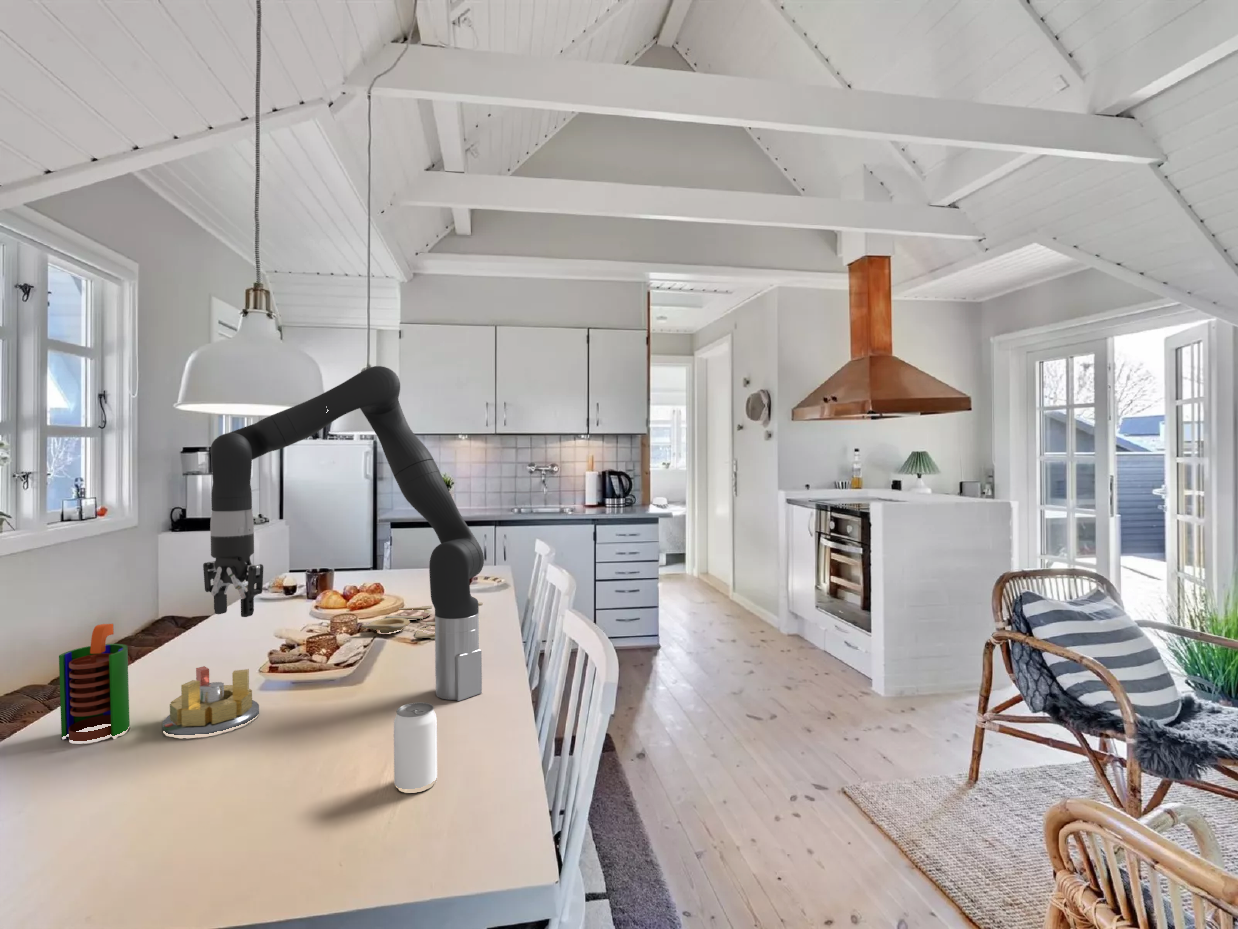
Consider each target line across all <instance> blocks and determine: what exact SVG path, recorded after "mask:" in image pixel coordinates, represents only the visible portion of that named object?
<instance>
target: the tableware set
mask: <svg viewBox="0 0 1238 929" xmlns="http://www.w3.org/2000/svg"><path fill="white" fill-rule="evenodd" d="M478 604H479V607H480V606H483V605H484V602H478ZM398 608H399V610H412V609H413V610H424V612H425V613H432V611H431V609H433V605H425V606H424V605H422V606H417V607H416V606H413V607H398ZM408 619H420V621H422V620H423V616H387V615H386V616H385V617H384V618H381V619H376V620H373V621H370V622H369V623H368V624H367V623H365V624H362V625H361V628H362V627H364V628H363V629H370V630H372V629H373V631H375V630H376V629H378V630H380V632H381V633H389V632H394V631H397V630H401V629H402V628H403V629H404V628H405V627H407V626H408V625H410V622H411V621H409V620H408ZM421 619H422V620H421ZM425 624H426V626H425V627H426V628H425V627H422V628H420V629H418V630H423V631H424V630H427V629H429V628H431V627H429V626H435V621H432V622H431V621H428V622H426V623H425ZM403 629H402V630H403ZM418 630H416V631H417V632H416V631H415V634H414V639H422V638H431V639H430V640H435V633H434V634H427V633H423V631H418ZM416 633H420V634H416Z"/></svg>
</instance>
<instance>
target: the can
mask: <svg viewBox="0 0 1238 929" xmlns="http://www.w3.org/2000/svg"><path fill="white" fill-rule="evenodd" d="M434 709H435V708H434V705H433V704H431V703H429V702H425V701H424V702H422V701H421V702H420V701H419V702H411V703H407V704H406V703H405V704H404V705H401V706H400V707H398V708H397V710H396V716H395V718H394V719H393V720H394V721H393V768H394V769H393V772H394V776H393V778H394V779H393V780H394V786H395V785H396V786H397V787H398V788H402V789H415V788H421V787H423V786H426V785H428V784H431V783H432V782H433V781H435V780H436V778H437V779H438V728H437V727H438V725H437V723H438V722H437V720H438V719H437V714H436V712H435V710H434Z"/></svg>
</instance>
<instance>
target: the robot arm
mask: <svg viewBox="0 0 1238 929" xmlns="http://www.w3.org/2000/svg"><path fill="white" fill-rule="evenodd" d="M400 393H401V382H400V378H399V376H398V375H397V373H396V372H395V371H393V370H392V369H390V368H388V367H387V366H382V365H376V366H370V367H368V368H366V369H364V370H361V371H360V372H358V373H357V374H355V375H353V376H352V377H350V378H349V379H347V380H346V381H344V382H342V383H341V384H338V385H336V386H335V387H333V388H331V389H329V390H327V391H325V392H323V393H320V394H319V395H317V396H315V397H312V398H311V399H308V400H306V401H304V402H301V403H300V404H299V403H298V404H296V405H294V406H291V407H289V408H286V409H284V410H281V411H279V412H277V413H274V414H272V415H269V416H266V417H264V418H262V419H260V420H259V421H257V422H256V423H253V424H250V425H247V426H243V427H241V428H238V429H236V430H232V431H230V432H227V433H223V434H221V435H219V436H217V437H216V438H215V439H214V440H213V441H212V443H211V446H210V452H209V453H210V455H211V456H210V457H211V459H210V460H211V470H212V472H211V473H212V487H211V493H210V494H211V497H210V499H211V500H210V501H211V515H210V523H209V524H210V525H209V526H210V528H209V530H210V556H211V558H213V559H215V560H213V561H208V562H204V563H203V565H202V567H203V569H202V571H203V578H204V579H203V580H204V581H203V582H204V591H205V592H206V593H210V594H211V595H212V596H213V610H214V614H215V615H222V614H226V613H227V612H228V595H227V591H228V589H229V586H230V585H231V584H232V585H233V586H234V588H235V590H238V593H239V594H240V616H241V617H242V618H248V617H251V616H252V617H253V614H254V610H255V606H254V605H255V600H254V599H255V596H257V595H261V594H263V588H264V587H263V586H264V565H263V564H262V563H260V564H252V562H251V556H252V555H253V554H254V553H255V538H254V537H255V535H254V534H255V528H254V527H255V525H254V524H255V523H254V515H253V499H252V498H253V497H252V496H253V493H252V485H251V479H252V468H253V467H252V466H253V465H252V464H253V460H255V459H258V458H260V457H261V456H264V455H266V454H267V453H270V452H275V451H278V450H281V449H284V448H286V447H289V446H291V445H294V444H297V443H298V442H301V441H303V440H305V439H307V438H309V437H311V436H313V435H314V434H316V433H318V432H319V431H322V429H324V428H326V427H327V426H328V425H330V424H331V423H333V422H334V421H336V420H337V419H339V418H341V417H343V416H345V415H348V414H349V413H352V412H353V411H356V410H359V409H360V411H361V412H362V414H363V415H364V417H365V419H366V420H367V421H368V423H369V425H370V427H371V428H372V430H373V432H374V433H375V434H376V436H377V439H378V440H379V442H380V445H381V448H382V450H383V453H384V456H385V458H386V459H385V460H386V461H387V463H388V466H389V468H390V470H391V472H392V475H393V477H394V479H395V481H396V483H397V486H398V487H399V490H400V492H401V493H402V496H403V497H404V498H405V500H406V501H407V502H408V503H409V504H410V505H411V506H412V507H413V509H414V510H416V512H417V513H418V514H419V515H421V516H422V517H423V518H424V519H425V520H426V521H427V522H428V524H429V525H430V526H431V528H432V529H433V531H434V532H435V534H436V536H437V538H438V540H439V542H440V544H438V545H437V546H436V547H434V549H433V550H432V551H431V552H432V553H431V554H430V557H429V565H428V572H429V575H428V576H429V589H430V590H429V591H430V600H431V602H432V603H431V604H432V607H433V608H434V622H435V639H434V648H435V649H434V653H435V655H434V656H435V658H434V659H435V660H434V661H435V662H434V663H435V669H434V670H435V671H434V672H435V695H436V697H437V698H439V699H442V700H451V701H457V702H459V701H464V700H466V699H468V698H471V697H474V696H477V695H480V694H482V690H483V686H482V685H483V682H482V681H483V680H482V679H483V678H482V677H483V676H482V675H483V672H482V667H483V666H482V665H483V664H482V659H483V658H482V656H483V655H482V650H481V649H480V643H479V642H480V635H479V634H480V630H479V629H480V628H479V625H480V624H479V623H480V622H479V619H480V616H479V614H480V613H479V611H480V608H479V607H480V606H479V604H478V603H479V601H478V599H477V598H476V597H473V596H472V594H471V588H470V584H471V583H470V579H472V578H475V577H476V576H478V575H479V574H480V573H481V572H482V570H483V568H484V564H485V563H484V562H485V557H484V556H485V555H484V552H483V550H482V547H481V545H480V544H479V543H480V542H478V540H477V538H476V536H475V535H474V534H473V532H472V531H471V529H470V527H469V526H468V524H467V523H466V521H465V519H464V518H463V515H462V514H461V513H460V511H459V508H458V507H457V504H456V503H455V500H454V497H453V496H452V494H451V493H450V491H449V488H448V486H447V484H446V482H445V480H444V479H443V475H442V474H441V471H440V469H439V468H438V465H437V464H436V461H435V458H433V456H432V453H431V452H430V451H429V449H428V448H427V446H426V445H425V444H424V443H423V442H422V441H421V439H419V438H418V437H417V436H416V434H415V432H413V430H412V429H411V428H410V425H409V424H408V421H407V419H406V416H405V414H404V413H403V409H402V407H401V405H400V399H399V396H400ZM326 406H327V408H326ZM327 409H328V410H329V411H328V412H327ZM326 412H327V413H326ZM211 580H212V581H213V582H212V583H211ZM255 585H256V586H255ZM246 589H247V590H246Z"/></svg>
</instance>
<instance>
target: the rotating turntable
mask: <svg viewBox="0 0 1238 929" xmlns="http://www.w3.org/2000/svg"><path fill="white" fill-rule="evenodd" d="M224 685H225V684H224V682H222V681H214V682H209V683H208V684H204V685H202V686H200V704H209V703H214V702H218V701H221V700H224ZM258 714H259V715H260V705H259V703H258V702H257V701H256V700H253V699H252V707H251V708H250V709H249V710H248V711H246V712H245V713H244V714H243V715H237V718H233V719H230V720H226V721H223V722H219V723H216V724H211V723H210V722H209V723H208V724H207V725H205V726H182V724H181V725H178V726H177V725H176V724H175V723H173V722H172V721H171V720H170V714H169V715H167V716H166V717H165V718H164V719H163V721H162V732H163V731H165V732H166V733H168V734H174V735H195V734H209V733H214V732H217V731H223V730H226V729H229V728H232V727H236V726H239V725H241V724H245V723H247V722H248V721H250V720H252V719H253V718H255V717H256V716H257V715H258Z"/></svg>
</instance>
